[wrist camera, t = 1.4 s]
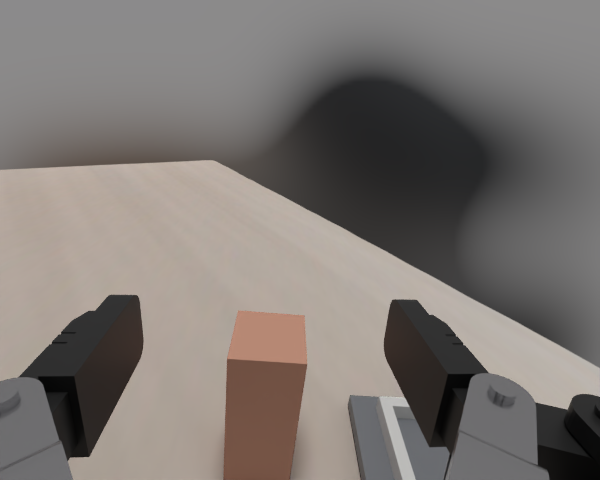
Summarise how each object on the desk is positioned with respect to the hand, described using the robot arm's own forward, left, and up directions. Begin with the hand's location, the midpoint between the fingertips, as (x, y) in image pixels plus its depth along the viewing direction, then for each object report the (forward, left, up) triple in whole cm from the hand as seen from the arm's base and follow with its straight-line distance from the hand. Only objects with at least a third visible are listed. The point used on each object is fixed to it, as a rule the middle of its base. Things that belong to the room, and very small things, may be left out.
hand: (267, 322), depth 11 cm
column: (-2, +10, -21) cm, 23 cm away
